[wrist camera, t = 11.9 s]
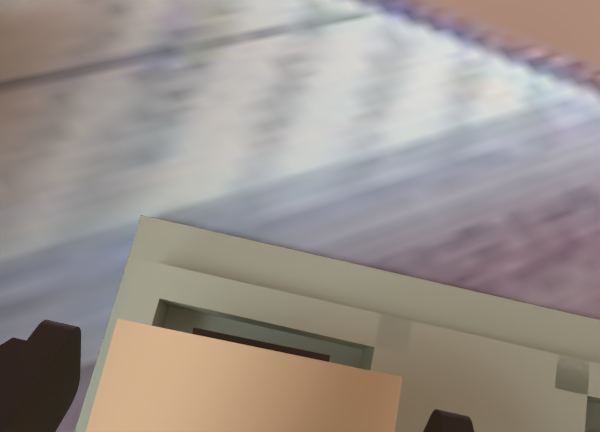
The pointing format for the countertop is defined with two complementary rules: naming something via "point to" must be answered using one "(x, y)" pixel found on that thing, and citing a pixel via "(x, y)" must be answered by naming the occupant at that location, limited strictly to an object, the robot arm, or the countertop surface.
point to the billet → (233, 386)
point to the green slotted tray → (368, 328)
